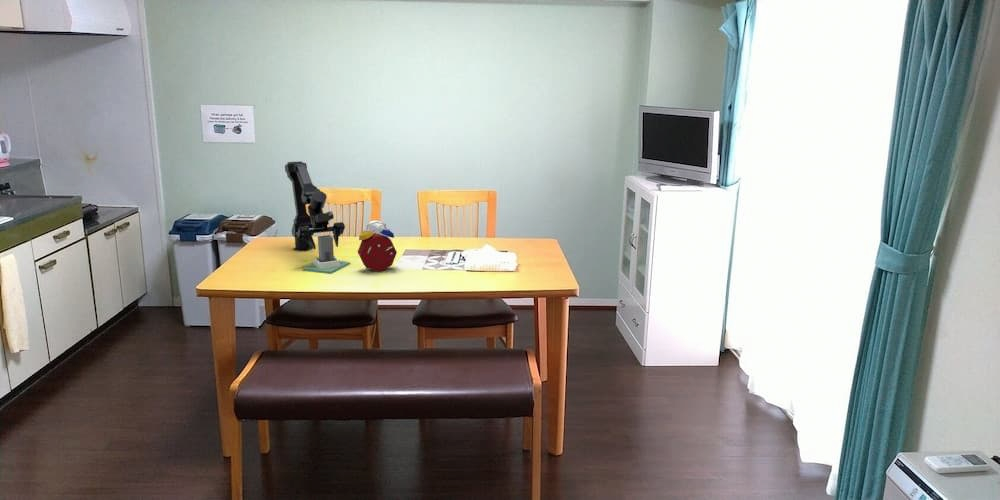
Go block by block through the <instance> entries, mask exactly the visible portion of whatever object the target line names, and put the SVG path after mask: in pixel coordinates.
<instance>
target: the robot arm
mask: <svg viewBox="0 0 1000 500" xmlns="http://www.w3.org/2000/svg"><path fill="white" fill-rule="evenodd" d="M307 165H308V164H307V162H303V161H302V160H301V161H300V160H298V161H288V162H287V163H286V164H285V165H284V171H285V173H286V175H287V178H288V179H289V180H290V182H291V184H292V191H293V200H294V206H295V207H294V208H295V213H296V214H295V216H294V218H293V223H292V227H291V235H292V236H293V237H294V243H295V247H293V250H297V251H304V252H305V251H309V250H310V249H313V250H316V249H317V248H316V246H317V245H316V243H315V240H314V238H313V236H314V234H319V233H320V234H321V233H322V234H323V233H328V232H332V234H333V235H332V237H333V242H334V245H335V246H336V248H338V246H339V239H340V238H339V237H341V236H342V235H343V234H344V230H345V229H346V226H345V223H344V222H342V221H340V222H334V223H333V226H329V224H330V221H331V220H333V219H334V213H333V211H327V212H324V210H323V209H324V207H325V204H326V202H327V196H328V195H327V194H326V193H325V192H323V191H322V190H321V189H320V188H318V187H317V186H315V185H314V183H313V182H312V179H311V176H310V173H309V170H308V166H307ZM307 205H308V206H307Z"/></svg>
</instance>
